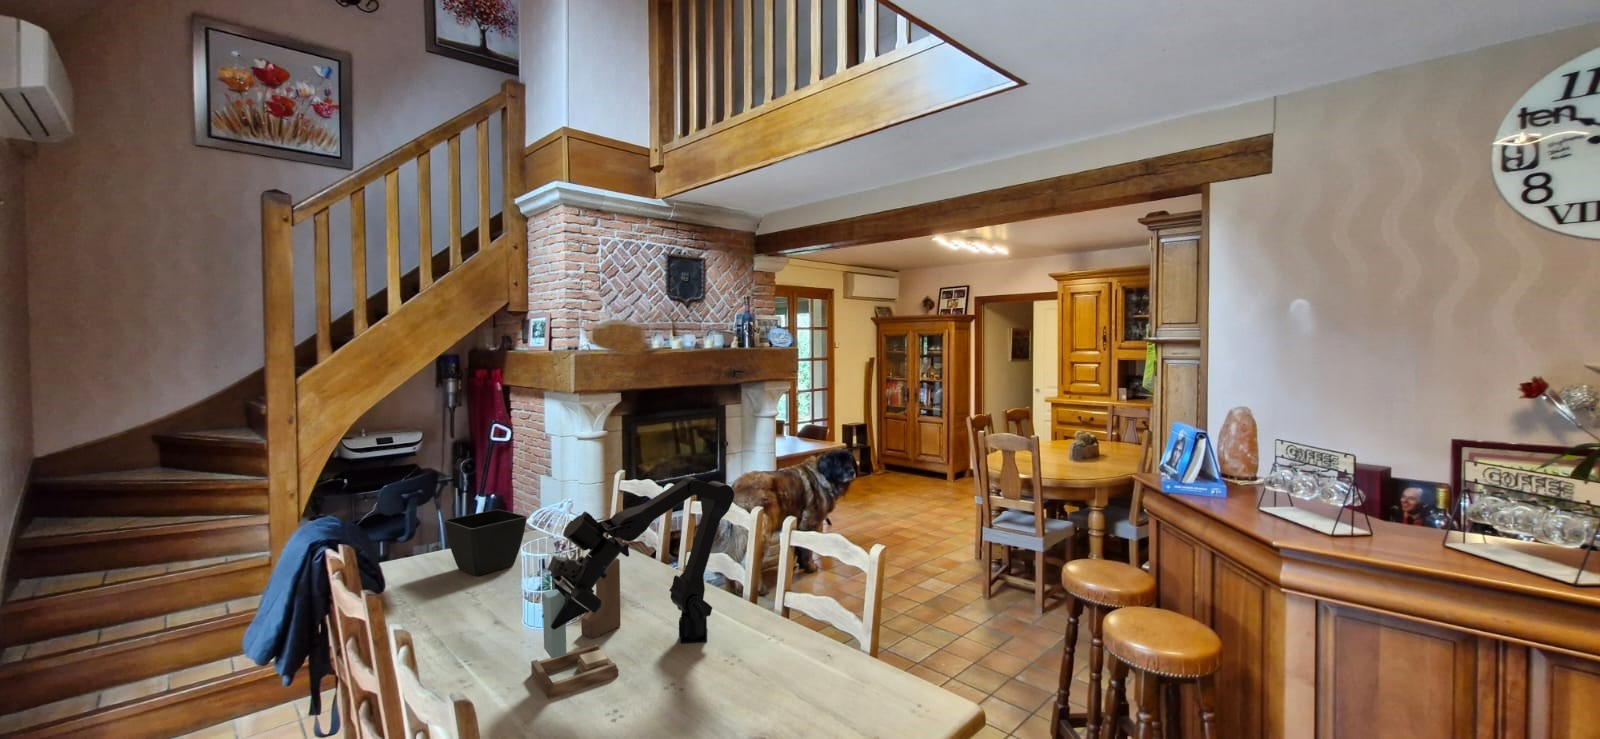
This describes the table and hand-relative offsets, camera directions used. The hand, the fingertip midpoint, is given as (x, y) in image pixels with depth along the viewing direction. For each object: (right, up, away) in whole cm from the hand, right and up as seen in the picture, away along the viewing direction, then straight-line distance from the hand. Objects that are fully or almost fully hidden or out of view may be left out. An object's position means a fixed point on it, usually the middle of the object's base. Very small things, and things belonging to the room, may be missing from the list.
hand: (547, 623), depth 134 cm
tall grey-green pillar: (+1, -7, +1) cm, 7 cm away
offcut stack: (+8, -13, +6) cm, 17 cm away
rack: (+4, -13, +4) cm, 14 cm away
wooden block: (+3, -13, +26) cm, 29 cm away
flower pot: (-50, -12, +73) cm, 90 cm away
